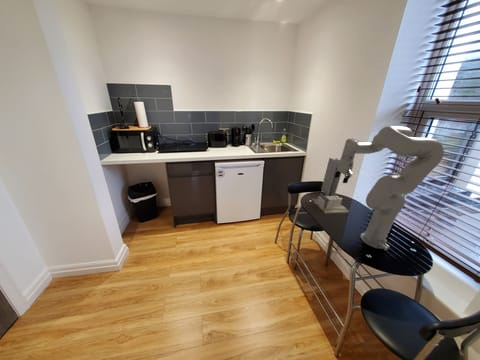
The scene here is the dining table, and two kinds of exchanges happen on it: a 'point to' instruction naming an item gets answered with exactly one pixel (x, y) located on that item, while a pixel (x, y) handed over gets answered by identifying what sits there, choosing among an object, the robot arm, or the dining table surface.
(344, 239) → the dining table surface
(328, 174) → the brochure
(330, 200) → the ticket pad
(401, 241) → the dining table surface
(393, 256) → the dining table surface
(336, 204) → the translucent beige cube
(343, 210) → the ticket board
